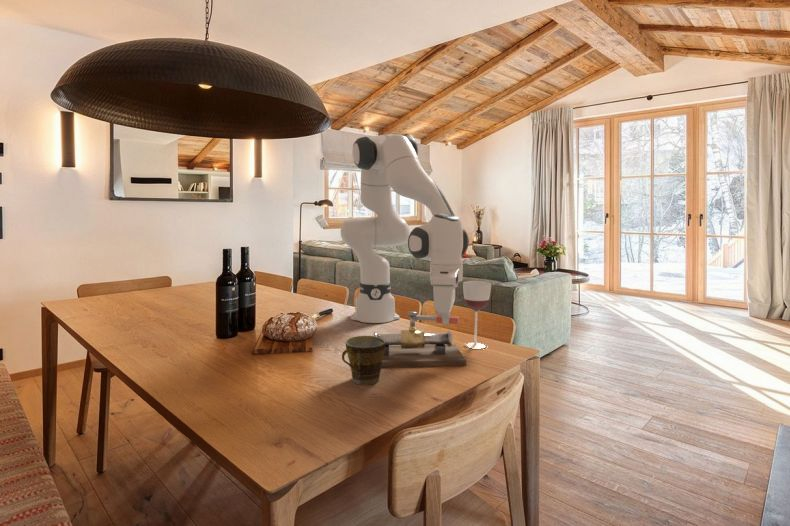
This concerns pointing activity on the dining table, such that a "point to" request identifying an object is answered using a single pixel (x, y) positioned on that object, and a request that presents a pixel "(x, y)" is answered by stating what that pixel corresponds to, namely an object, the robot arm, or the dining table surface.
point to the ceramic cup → (365, 358)
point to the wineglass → (476, 302)
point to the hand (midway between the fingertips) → (445, 324)
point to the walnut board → (423, 357)
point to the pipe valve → (417, 340)
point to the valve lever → (430, 318)
